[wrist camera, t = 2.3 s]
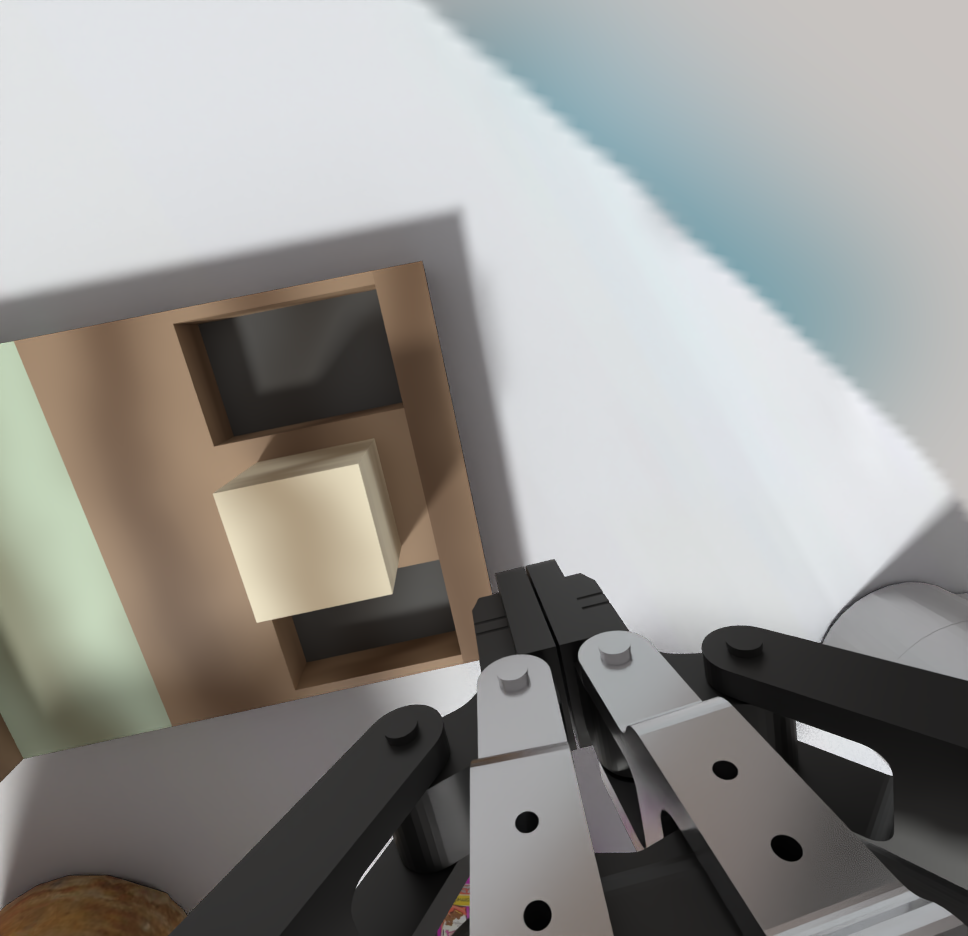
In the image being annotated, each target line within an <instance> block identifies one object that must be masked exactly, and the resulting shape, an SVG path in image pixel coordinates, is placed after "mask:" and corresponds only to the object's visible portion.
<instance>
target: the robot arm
mask: <svg viewBox="0 0 968 936" xmlns="http://www.w3.org/2000/svg"><path fill="white" fill-rule="evenodd" d="M526 573H527V574H526ZM495 575H496V580H497V585H498V589H499V593H497V594H493V595H489V596H485V597H481V598H479V599H478V600H477V602H476V604H475V606H474V608H473V610H472V615H473V621H474V628H475V634H476V641H477V648H478V654H479V661H480V667H481V674H480V676H479V678H478V681H477V693H476V694H475V695H474V697H473V698H472V699H471V700H470V701H469V702H468V703H466V704H465V705H464V706H462V707H461V708H459V709H457V710H456V711H454V712H452V713H450V714H448V715H446V716H444V717H441V715H440V713H439V712H438V711H437V710H435V709H434V708H432V707H429V706H426V705H409V706H404V707H401V708H398V709H396V710H393V711H391V712H389V713H388V714H386V715H384V716H383V717H382V718H380V719H379V720H378V721H377V722H376V723H374V724H373V725H372V727H371V728H370V729H369V730H368V731H367V732H366V733H365V734H364V735H363V736H362V737H361V738H360V739H359V740H358V741H357V742H356V743H355V744H354V745H353V746H352V747H351V748H350V749H349V750H348V751H347V752H346V753H345V754H344V755H343V756H342V757H341V758H340V759H339V760H338V761H337V762H336V764H335V765H334V766H333V767H332V768H331V769H330V770H329V771H328V772H327V773H326V774H325V775H324V776H323V777H322V778H321V779H320V780H319V781H318V782H317V783H316V784H315V785H314V786H313V787H312V788H311V789H310V790H309V791H308V792H307V793H306V794H305V795H304V796H303V797H302V798H301V799H300V800H299V802H298V803H297V804H296V805H295V806H294V807H293V808H292V809H291V810H290V811H289V812H288V813H287V814H286V815H285V816H284V817H283V818H282V819H281V820H280V821H279V822H278V823H277V824H276V825H275V826H274V827H273V828H272V829H271V830H270V831H269V832H268V833H267V834H266V835H265V836H264V837H263V839H262V840H261V841H260V842H259V843H258V844H257V845H256V846H255V847H254V848H253V849H252V850H251V851H250V852H249V853H248V854H247V855H246V856H245V857H244V858H243V859H242V860H241V861H240V862H239V863H238V864H237V865H236V866H235V867H234V868H233V869H232V870H231V871H230V872H229V873H228V874H227V876H226V877H225V878H224V879H223V880H222V881H221V882H220V883H219V884H218V885H217V886H216V887H215V888H214V889H213V890H212V891H211V892H210V893H209V894H208V895H207V896H206V897H205V898H204V899H203V900H202V901H201V902H200V903H199V904H198V905H197V906H196V907H195V908H194V909H193V910H192V911H191V913H190V914H189V915H188V916H187V917H186V918H185V919H184V920H183V921H182V922H181V923H180V924H179V925H178V926H177V927H176V928H175V929H174V930H173V931H172V932H171V933H170V934H169V935H168V936H435V934H436V933H437V931H438V929H439V928H440V926H441V924H442V922H443V921H444V919H445V917H446V916H447V914H448V912H449V910H450V909H451V907H452V905H453V904H454V902H455V900H456V899H457V897H458V895H459V893H460V892H461V890H462V888H463V887H464V885H465V883H466V881H467V880H468V878H469V876H470V917H469V918H468V919H467V920H466V921H465V922H464V923H463V924H462V925H461V926H460V927H459V928H457V929H456V931H455V932H454V933H453V934H452V935H451V936H968V593H963V594H954V593H951V592H949V591H947V590H945V589H943V588H941V587H939V586H936V585H932V584H927V583H923V582H904V583H900V584H895V585H890V586H886V587H884V588H881V589H879V590H877V591H874V592H872V593H870V594H868V595H867V596H865V597H863V598H862V599H860V600H859V601H857V602H855V603H854V604H853V605H852V606H851V607H850V608H849V609H847V610H846V611H845V612H844V613H843V614H842V615H841V616H840V617H839V618H838V620H837V621H836V622H835V623H834V625H833V626H832V627H831V628H830V630H829V632H828V634H827V636H826V638H825V640H824V641H823V643H822V644H821V643H817V642H813V641H809V640H805V639H801V638H798V637H794V636H790V635H786V634H782V633H778V632H774V631H770V630H766V629H762V628H758V627H753V626H729V627H724V628H720V629H717V630H715V631H713V632H711V633H710V634H708V635H707V636H706V637H705V639H704V640H703V643H702V653H696V654H669V653H662V652H659V651H658V650H657V649H656V648H655V647H654V646H653V645H652V644H651V642H650V641H649V640H647V639H646V638H645V637H643V636H641V635H639V634H637V633H633V632H629V630H628V629H627V627H626V626H625V624H624V623H623V621H622V620H621V618H620V617H619V615H618V614H617V612H616V611H615V609H614V608H613V606H612V605H611V603H609V600H608V599H607V597H606V596H605V594H603V592H602V590H601V589H600V587H599V586H598V584H597V583H596V581H595V580H593V579H591V578H589V577H587V576H585V575H583V574H581V573H579V574H575V575H571V576H567V577H564V575H563V573H562V572H561V570H560V568H559V566H558V564H557V563H556V561H555V559H552V560H548V561H544V562H540V563H536V564H532V565H528V566H526V571H525V569H524V567H520V568H515V569H511V570H507V571H503V572H499V573H495ZM796 721H799V722H801V723H804V724H807V725H810V726H813V727H815V728H818V729H821V730H824V731H827V732H829V733H832V734H835V735H838V736H841V737H843V738H846V739H849V740H852V741H855V742H857V743H860V744H863V745H865V746H867V747H869V748H871V749H873V750H874V751H875V752H876V753H877V754H878V755H879V756H880V757H881V758H882V759H883V760H884V761H885V762H886V763H887V764H888V765H889V766H890V768H891V770H892V773H893V776H890V775H887V774H884V773H882V772H879V771H876V770H874V769H871V768H868V767H866V766H863V765H861V764H858V763H855V762H853V761H850V760H847V759H845V758H842V757H840V756H837V755H834V754H832V753H829V752H826V751H824V750H821V749H819V748H816V747H813V746H811V745H808V744H806V743H803V742H800V741H798V740H797V732H796ZM573 730H574V732H573ZM574 733H575V735H576V738H577V741H578V743H579V746H580V748H583V747H587V746H591V745H593V746H594V749H595V751H596V754H597V757H598V763H599V768H600V773H601V778H602V781H603V783H604V785H605V787H606V789H607V791H608V794H609V796H610V798H611V800H612V802H613V804H614V806H615V808H616V810H617V812H618V814H619V816H620V818H621V820H622V822H623V824H624V826H625V828H626V830H627V832H628V834H629V836H630V839H631V841H632V843H633V845H634V847H635V849H636V851H637V852H633V853H594V850H593V846H592V841H591V837H590V833H589V829H588V824H587V820H586V816H585V811H584V807H583V803H582V799H581V794H580V790H579V786H578V782H577V777H576V773H575V767H574V762H573V757H572V753H571V751H572V750H576V749H577V747H576V742H575V737H574ZM392 835H393V838H394V839H393V840H392V841H391V843H390V844H389V845H388V847H387V848H386V849H385V851H384V852H383V853H382V855H381V856H380V857H379V859H378V860H377V861H376V863H375V864H374V865H373V867H372V868H371V869H370V871H369V872H368V873H367V875H366V876H365V877H364V879H363V880H362V881H361V883H360V884H359V885H358V887H357V888H356V886H357V884H358V882H359V880H360V878H361V877H362V875H363V874H364V872H365V871H366V870H367V868H368V867H369V866H370V864H371V863H372V862H373V860H374V859H375V858H376V856H377V855H378V854H379V853H380V851H381V850H382V849H383V847H384V846H385V845H386V843H387V842H388V841H389V839H390V838H391V837H392Z"/></svg>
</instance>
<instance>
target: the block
mask: <svg viewBox="0 0 968 936" xmlns="http://www.w3.org/2000/svg"><path fill="white" fill-rule="evenodd" d="M213 496H214V499H215V502H216V505H217V508H218V511H219V514H220V517H221V520H222V523H223V525H224V528H225V531H226V534H227V537H228V540H229V543H230V546H231V549H232V552H233V555H234V558H235V561H236V564H237V566H238V569H239V572H240V575H241V578H242V581H243V584H244V587H245V590H246V593H247V596H248V599H249V602H250V604H251V607H252V610H253V613H254V616H255V619H256V622H257V623H259V622H263V621H268V620H273V619H277V618H282V617H287V616H292V615H296V614H301V613H306V612H310V611H315V610H320V609H325V608H329V607H334V606H339V605H343V604H348V603H353V602H358V601H362V600H367V599H372V598H376V597H381V596H386V595H391V594H393V589H394V584H395V579H396V573H397V568H398V562H399V557H400V552H401V542H400V538H399V534H398V530H397V526H396V522H395V518H394V514H393V510H392V506H391V502H390V498H389V494H388V490H387V486H386V482H385V478H384V474H383V470H382V467H381V463H380V459H379V455H378V451H377V447H376V443H375V439H374V438H373V439H368V440H364V441H359V442H354V443H349V444H344V445H339V446H334V447H329V448H324V449H320V450H315V451H310V452H305V453H300V454H295V455H290V456H285V457H280V458H276V459H271V460H266V461H261V462H257V463H255V464H254V465H253V466H251V467H250V468H248V469H247V470H245V471H244V472H243V473H241V474H240V475H238V476H237V477H236V478H234V479H233V480H231V481H230V482H228V483H227V484H226V485H224V486H223V487H221V488H220V489H219V490H217V491H216V492H214V493H213Z"/></svg>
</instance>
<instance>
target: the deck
mask: <svg viewBox="0 0 968 936" xmlns="http://www.w3.org/2000/svg"><path fill="white" fill-rule="evenodd" d="M373 438H374V439H375V443H376V447H377V451H378V455H379V459H380V463H381V467H382V470H383V474H384V478H385V482H386V486H387V490H388V494H389V498H390V502H391V506H392V510H393V514H394V518H395V522H396V526H397V530H398V534H399V538H400V542H401V552H400V557H399V562H398V568H397V573H396V579H395V584H394V589H393V594H391V595H386V596H381V597H376V598H372V599H367V600H362V601H358V602H353V603H348V604H343V605H339V606H334V607H329V608H325V609H320V610H315V611H310V612H306V613H301V614H296V615H292V616H287V617H282V618H277V619H273V620H268V621H263V622H259V623H257V622H256V619H255V616H254V613H253V610H252V607H251V604H250V602H249V599H248V596H247V593H246V590H245V587H244V584H243V581H242V578H241V575H240V572H239V569H238V566H237V564H236V561H235V558H234V555H233V552H232V549H231V546H230V543H229V540H228V537H227V534H226V531H225V528H224V525H223V523H222V520H221V517H220V514H219V511H218V508H217V505H216V502H215V499H214V496H213V493H214V492H216V491H217V490H219V489H220V488H221V487H223V486H224V485H226V484H227V483H228V482H230V481H231V480H233V479H234V478H236V477H237V476H238V475H240V474H241V473H243V472H244V471H245V470H247V469H248V468H250V467H251V466H253V465H254V464H255V463H257V462H261V461H266V460H271V459H276V458H280V457H285V456H290V455H295V454H300V453H305V452H310V451H315V450H320V449H324V448H329V447H334V446H339V445H344V444H349V443H354V442H359V441H364V440H368V439H373ZM489 595H492V590H491V586H490V581H489V576H488V571H487V567H486V562H485V557H484V552H483V547H482V543H481V538H480V533H479V528H478V524H477V519H476V514H475V509H474V504H473V500H472V495H471V490H470V485H469V480H468V476H467V471H466V466H465V461H464V457H463V452H462V447H461V442H460V437H459V433H458V428H457V423H456V418H455V414H454V409H453V404H452V399H451V394H450V390H449V385H448V380H447V375H446V370H445V366H444V361H443V356H442V351H441V347H440V342H439V337H438V332H437V327H436V323H435V318H434V313H433V308H432V304H431V299H430V294H429V289H428V284H427V280H426V275H425V270H424V266H423V262H422V261H419V262H414V263H409V264H404V265H399V266H394V267H389V268H383V269H378V270H373V271H368V272H363V273H358V274H353V275H348V276H343V277H338V278H332V279H327V280H322V281H317V282H312V283H307V284H302V285H297V286H292V287H287V288H282V289H276V290H271V291H266V292H261V293H256V294H251V295H246V296H241V297H236V298H231V299H225V300H220V301H215V302H210V303H205V304H200V305H195V306H190V307H185V308H180V309H175V310H169V311H164V312H159V313H154V314H149V315H144V316H139V317H134V318H129V319H124V320H119V321H113V322H108V323H103V324H98V325H93V326H88V327H83V328H78V329H73V330H68V331H62V332H57V333H52V334H47V335H42V336H37V337H32V338H27V339H22V340H17V341H12V342H6V343H1V344H0V782H1V781H2V780H3V779H4V778H5V777H6V776H7V775H8V774H9V773H10V772H11V771H12V770H13V769H14V768H15V767H16V766H17V765H18V764H19V763H20V762H21V761H22V760H23V759H25V758H30V757H34V756H39V755H43V754H48V753H53V752H57V751H62V750H67V749H71V748H76V747H80V746H85V745H90V744H94V743H99V742H103V741H108V740H113V739H117V738H122V737H127V736H131V735H136V734H140V733H145V732H150V731H154V730H159V729H164V728H168V727H173V726H177V725H182V724H187V723H191V722H196V721H200V720H205V719H210V718H214V717H219V716H224V715H228V714H233V713H237V712H242V711H247V710H251V709H256V708H261V707H265V706H270V705H274V704H279V703H284V702H288V701H293V700H297V699H302V698H307V697H311V696H316V695H321V694H325V693H330V692H334V691H339V690H344V689H348V688H353V687H358V686H362V685H367V684H371V683H376V682H381V681H385V680H390V679H394V678H399V677H404V676H408V675H413V674H418V673H422V672H427V671H431V670H436V669H441V668H445V667H450V666H455V665H459V664H464V663H468V662H473V661H478V660H479V654H478V648H477V641H476V634H475V628H474V621H473V615H472V610H473V608H474V606H475V604H476V602H477V600H478V599H479V598H481V597H485V596H489Z"/></svg>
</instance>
